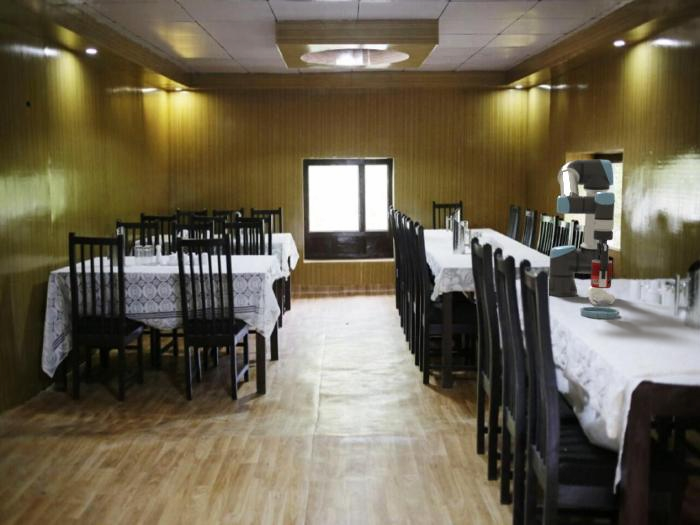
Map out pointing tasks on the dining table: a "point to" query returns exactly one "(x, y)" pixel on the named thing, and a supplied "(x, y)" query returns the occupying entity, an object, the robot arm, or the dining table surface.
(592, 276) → the canned food
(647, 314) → the dining table surface
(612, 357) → the dining table surface
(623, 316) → the dining table surface
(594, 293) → the penguin figurine
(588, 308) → the dish
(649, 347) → the dining table surface
